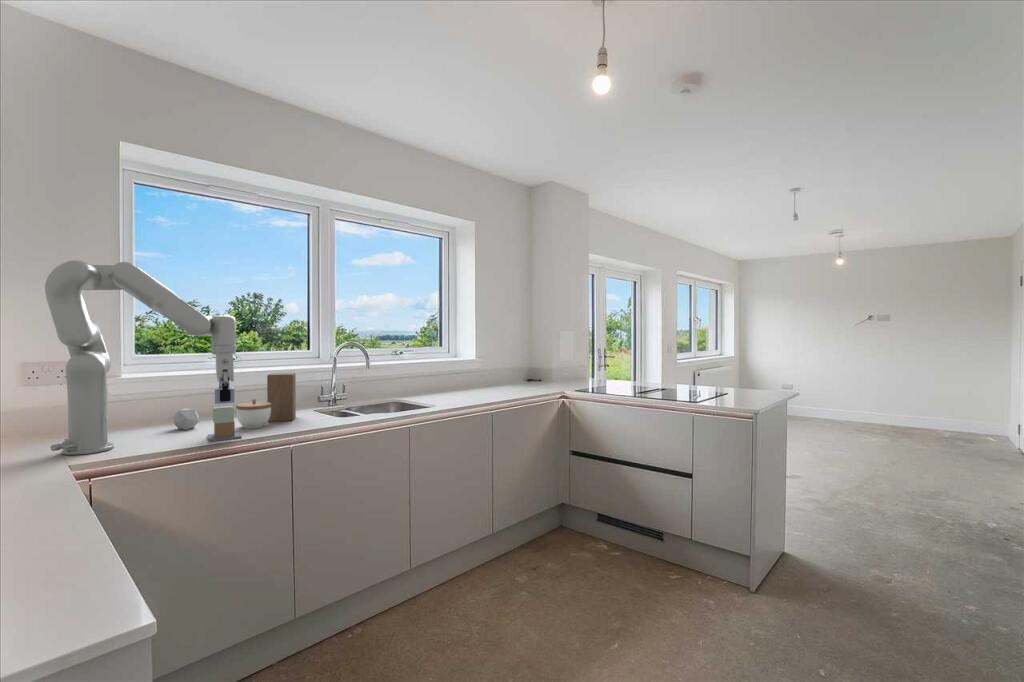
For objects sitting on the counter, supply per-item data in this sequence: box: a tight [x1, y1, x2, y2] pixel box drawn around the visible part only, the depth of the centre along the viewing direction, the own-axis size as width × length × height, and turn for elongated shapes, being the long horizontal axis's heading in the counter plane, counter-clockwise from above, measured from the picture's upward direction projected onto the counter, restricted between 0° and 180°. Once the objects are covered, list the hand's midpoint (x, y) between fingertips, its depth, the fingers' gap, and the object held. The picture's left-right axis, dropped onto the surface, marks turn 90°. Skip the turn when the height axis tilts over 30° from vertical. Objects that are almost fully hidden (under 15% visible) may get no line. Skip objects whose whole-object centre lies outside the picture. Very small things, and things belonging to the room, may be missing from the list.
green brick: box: [212, 405, 235, 425], centre depth 177 cm, size 6×6×5 cm
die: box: [172, 407, 200, 431], centre depth 193 cm, size 8×9×10 cm
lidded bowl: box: [235, 398, 272, 429], centre depth 198 cm, size 13×13×11 cm
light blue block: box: [214, 386, 236, 405], centre depth 177 cm, size 6×6×5 cm
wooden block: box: [266, 372, 297, 423], centre depth 214 cm, size 10×10×20 cm
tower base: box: [207, 421, 242, 442], centre depth 177 cm, size 10×10×6 cm
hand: (224, 399), depth 177 cm, fingers closed on light blue block, 6 cm apart
